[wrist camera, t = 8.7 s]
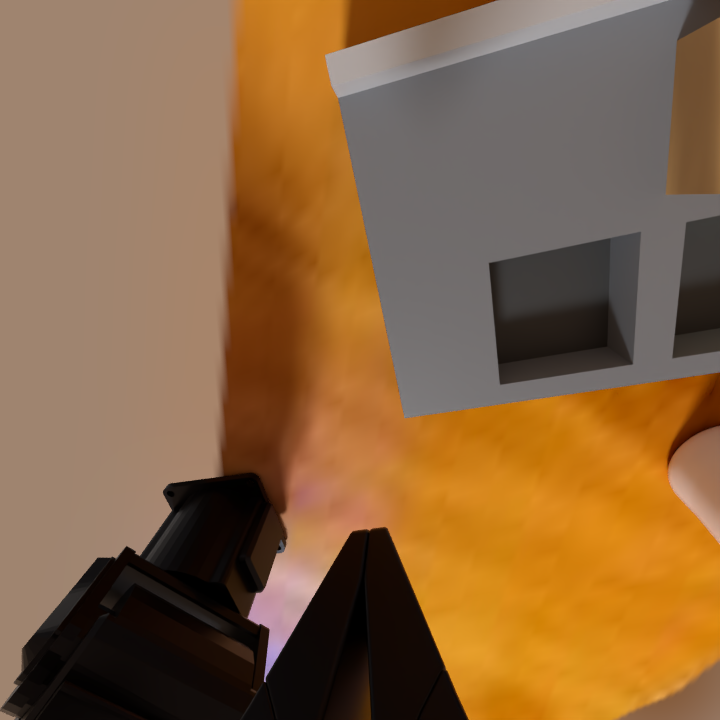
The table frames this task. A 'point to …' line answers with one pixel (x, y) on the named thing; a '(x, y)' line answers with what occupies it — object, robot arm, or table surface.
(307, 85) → the table surface
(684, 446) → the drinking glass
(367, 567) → the robot arm
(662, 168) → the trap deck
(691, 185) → the ochre block
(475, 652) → the table surface
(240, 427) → the table surface
